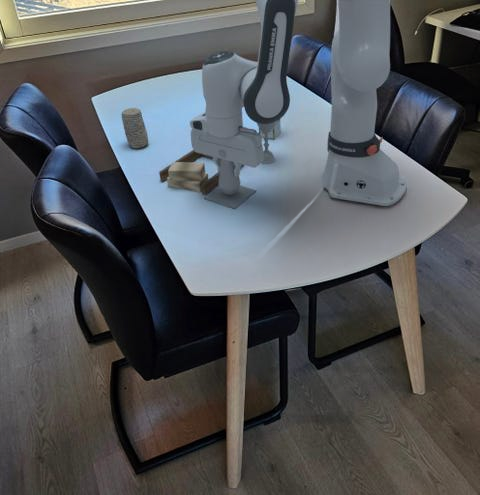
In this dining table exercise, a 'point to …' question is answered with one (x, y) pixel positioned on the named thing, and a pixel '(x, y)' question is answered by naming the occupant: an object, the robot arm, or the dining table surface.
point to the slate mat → (230, 197)
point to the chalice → (267, 154)
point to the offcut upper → (186, 171)
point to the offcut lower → (188, 184)
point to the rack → (192, 157)
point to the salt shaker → (227, 176)
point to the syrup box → (273, 131)
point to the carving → (134, 128)
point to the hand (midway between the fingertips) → (228, 173)
